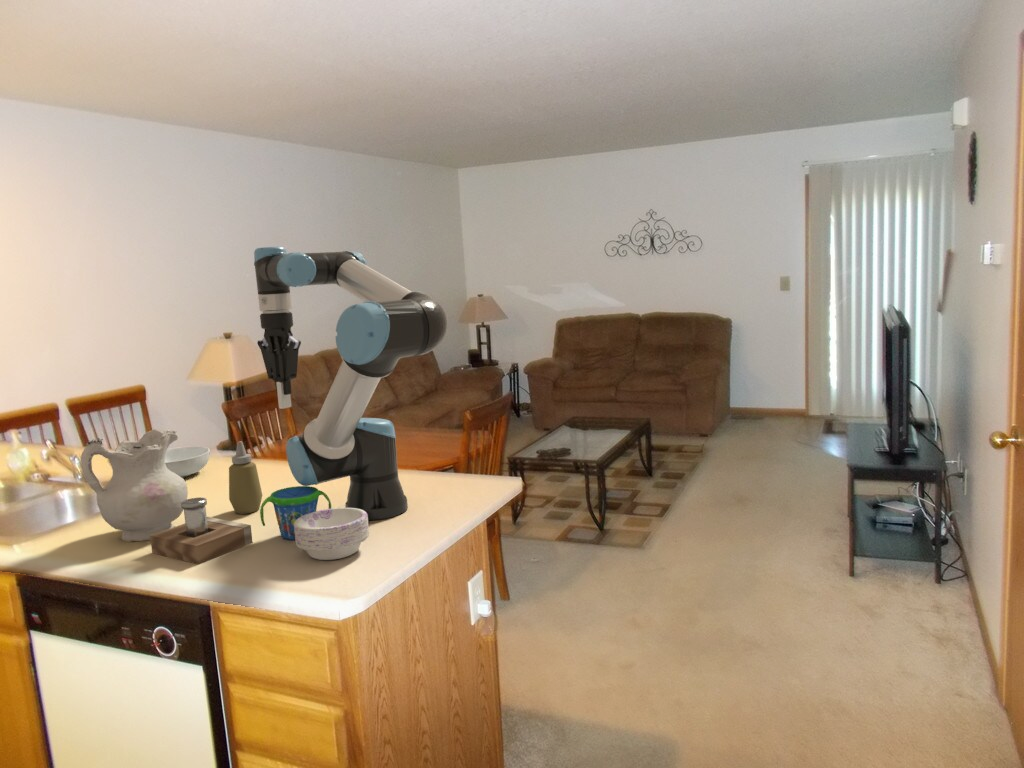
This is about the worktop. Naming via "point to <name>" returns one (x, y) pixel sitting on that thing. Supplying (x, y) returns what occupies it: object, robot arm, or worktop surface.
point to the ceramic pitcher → (137, 485)
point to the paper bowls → (331, 532)
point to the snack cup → (292, 506)
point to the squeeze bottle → (244, 482)
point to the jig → (202, 541)
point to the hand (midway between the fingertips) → (285, 407)
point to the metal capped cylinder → (195, 516)
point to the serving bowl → (186, 459)
